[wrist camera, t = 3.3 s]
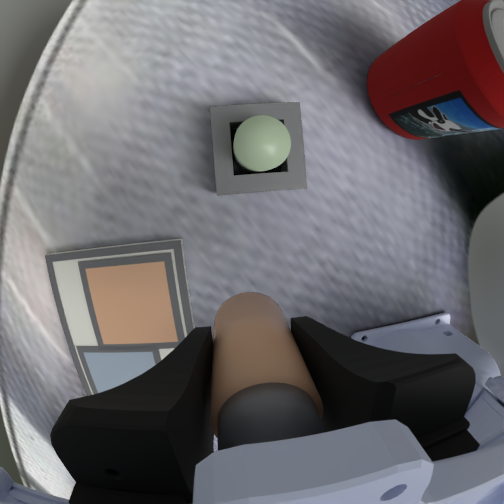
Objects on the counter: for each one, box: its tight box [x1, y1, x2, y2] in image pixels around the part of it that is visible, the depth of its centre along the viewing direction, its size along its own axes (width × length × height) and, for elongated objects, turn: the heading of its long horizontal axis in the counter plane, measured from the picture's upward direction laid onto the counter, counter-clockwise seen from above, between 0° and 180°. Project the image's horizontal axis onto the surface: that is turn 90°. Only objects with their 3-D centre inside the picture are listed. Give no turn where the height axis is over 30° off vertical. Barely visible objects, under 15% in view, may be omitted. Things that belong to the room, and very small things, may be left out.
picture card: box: [45, 238, 195, 396], centre depth 20 cm, size 10×14×1 cm
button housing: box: [210, 102, 307, 195], centre depth 17 cm, size 5×5×2 cm
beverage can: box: [367, 0, 504, 140], centre depth 12 cm, size 7×7×12 cm
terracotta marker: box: [210, 292, 326, 451], centre depth 10 cm, size 3×3×7 cm
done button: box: [233, 115, 291, 173], centre depth 16 cm, size 3×3×3 cm
